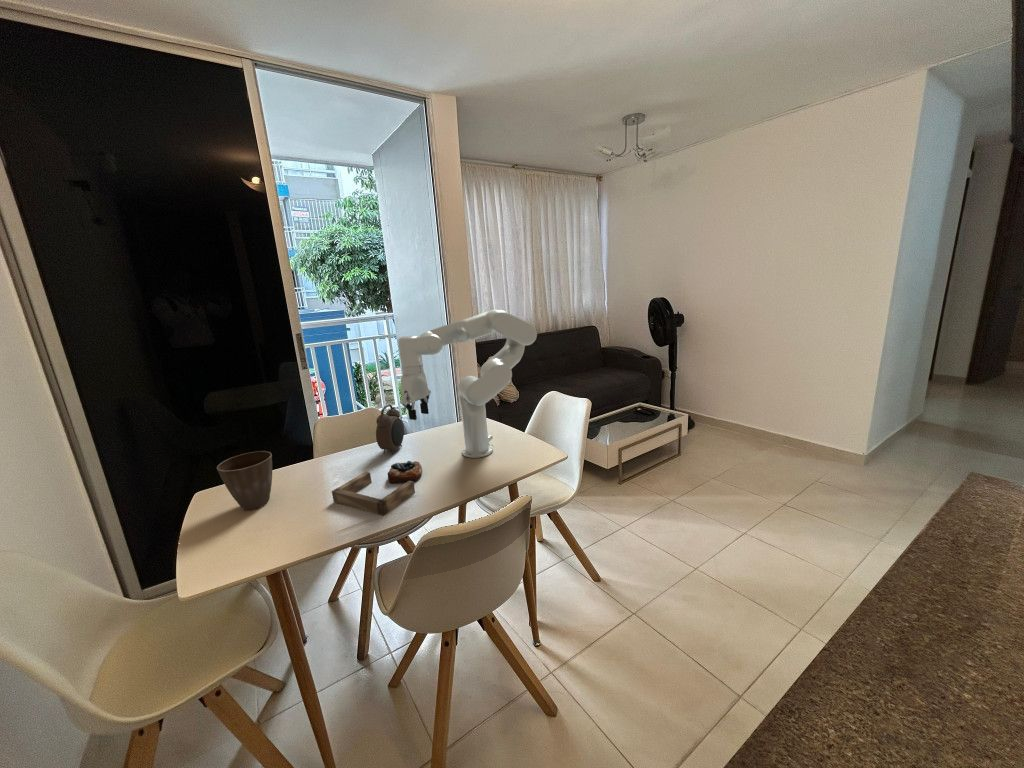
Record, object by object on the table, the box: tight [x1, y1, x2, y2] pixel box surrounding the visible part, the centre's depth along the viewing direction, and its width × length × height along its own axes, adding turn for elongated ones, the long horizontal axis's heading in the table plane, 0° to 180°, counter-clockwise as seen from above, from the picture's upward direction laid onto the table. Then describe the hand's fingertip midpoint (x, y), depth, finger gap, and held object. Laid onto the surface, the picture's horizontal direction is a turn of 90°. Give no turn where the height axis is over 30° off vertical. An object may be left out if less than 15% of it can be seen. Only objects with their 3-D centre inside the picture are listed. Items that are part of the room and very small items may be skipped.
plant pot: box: [216, 450, 273, 511], centre depth 128 cm, size 15×15×16 cm
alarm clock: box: [375, 404, 405, 455], centre depth 164 cm, size 15×7×20 cm, turn 171°
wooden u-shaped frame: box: [331, 471, 416, 516], centre depth 128 cm, size 14×22×4 cm, turn 63°
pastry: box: [387, 460, 423, 485], centre depth 141 cm, size 11×12×6 cm
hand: (419, 416), depth 146 cm, fingers open, 6 cm apart
